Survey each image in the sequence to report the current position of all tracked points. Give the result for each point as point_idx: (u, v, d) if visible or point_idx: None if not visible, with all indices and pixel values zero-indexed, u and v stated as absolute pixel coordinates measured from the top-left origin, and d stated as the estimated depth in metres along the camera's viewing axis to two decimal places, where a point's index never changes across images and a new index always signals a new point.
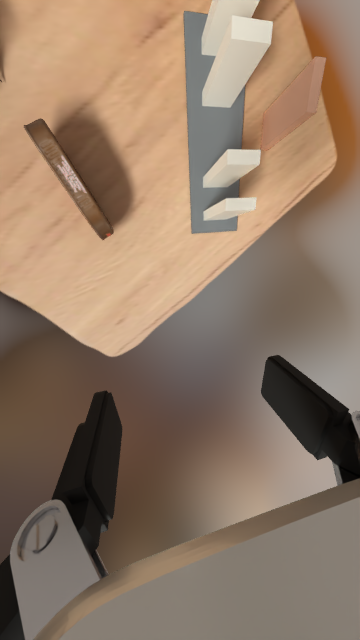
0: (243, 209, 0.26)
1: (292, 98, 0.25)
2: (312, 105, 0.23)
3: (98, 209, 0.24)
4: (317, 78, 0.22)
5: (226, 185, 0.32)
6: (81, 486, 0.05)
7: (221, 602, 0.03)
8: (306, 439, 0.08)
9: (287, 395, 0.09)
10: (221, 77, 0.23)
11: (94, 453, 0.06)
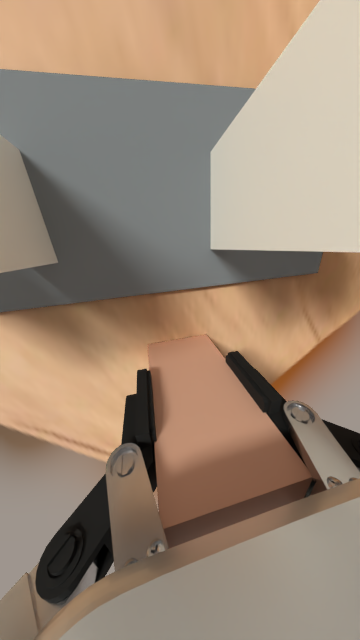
0: None
1: (217, 408, 0.08)
2: (185, 533, 0.05)
3: None
4: (259, 506, 0.06)
5: None
6: (148, 433, 0.06)
7: (221, 602, 0.03)
8: None
9: None
10: (276, 103, 0.05)
11: (151, 412, 0.07)
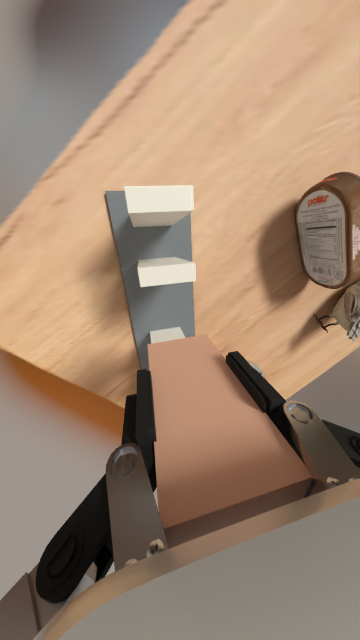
0: (152, 188, 0.12)
1: (217, 408, 0.08)
2: (185, 533, 0.05)
3: (350, 205, 0.18)
4: (259, 506, 0.06)
5: None
6: (148, 433, 0.06)
7: (221, 602, 0.03)
8: None
9: None
10: None
11: (151, 412, 0.07)
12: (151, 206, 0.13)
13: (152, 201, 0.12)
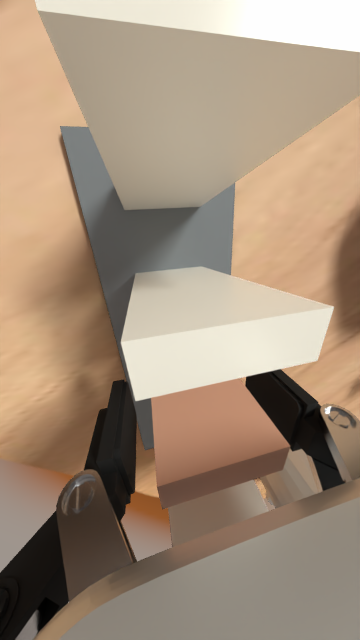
0: None
1: (210, 392, 0.09)
2: (179, 492, 0.06)
3: None
4: (243, 472, 0.06)
5: (145, 274, 0.11)
6: (111, 458, 0.06)
7: (221, 602, 0.03)
8: (282, 432, 0.08)
9: (266, 390, 0.09)
10: None
11: (119, 431, 0.07)
12: None
13: None
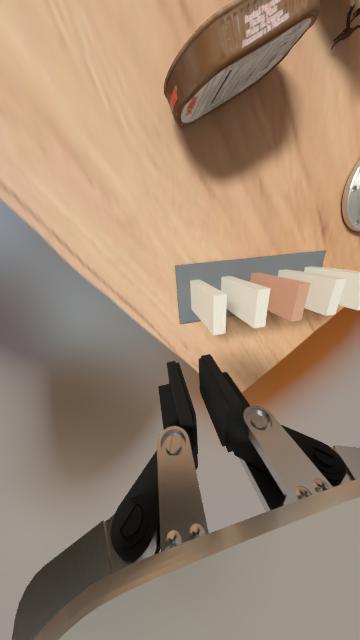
0: (213, 320, 0.20)
1: (277, 293, 0.24)
2: (297, 316, 0.22)
3: (217, 66, 0.14)
4: (301, 298, 0.21)
5: None
6: (190, 418, 0.07)
7: (221, 602, 0.03)
8: (220, 433, 0.09)
9: (209, 392, 0.09)
10: (302, 280, 0.26)
11: (189, 399, 0.08)
12: (223, 321, 0.20)
13: (220, 320, 0.20)
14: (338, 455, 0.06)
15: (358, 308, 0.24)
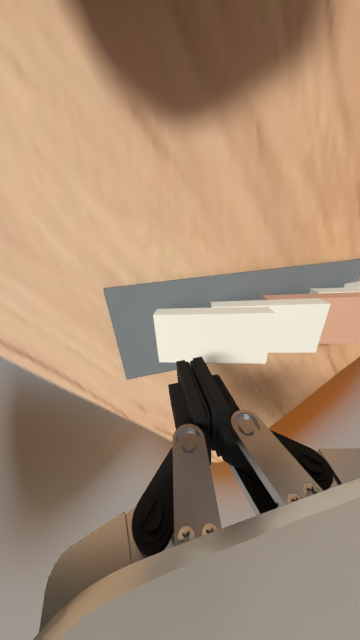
0: (267, 344, 0.15)
1: (339, 316, 0.16)
2: None
3: None
4: None
5: None
6: (204, 415, 0.07)
7: (221, 602, 0.03)
8: (209, 437, 0.08)
9: None
10: None
11: (201, 397, 0.08)
12: None
13: None
14: (324, 459, 0.06)
15: None
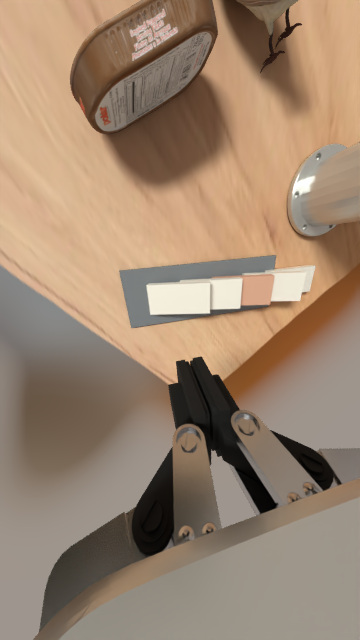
0: (209, 301, 0.27)
1: (253, 288, 0.29)
2: None
3: (110, 78, 0.14)
4: None
5: None
6: (204, 415, 0.07)
7: (221, 602, 0.03)
8: (209, 437, 0.08)
9: None
10: (275, 279, 0.29)
11: (201, 397, 0.08)
12: None
13: None
14: (324, 459, 0.06)
15: (309, 289, 0.34)
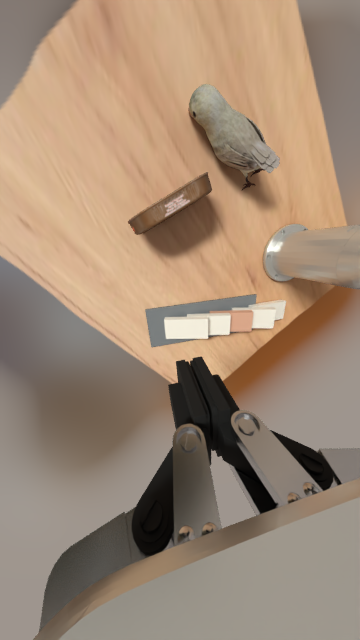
0: (207, 330, 0.39)
1: (239, 320, 0.41)
2: None
3: (153, 225, 0.26)
4: None
5: None
6: (204, 415, 0.07)
7: (221, 602, 0.03)
8: (209, 437, 0.08)
9: None
10: (255, 313, 0.41)
11: (201, 397, 0.08)
12: None
13: None
14: (324, 459, 0.06)
15: (282, 317, 0.46)
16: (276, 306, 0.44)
